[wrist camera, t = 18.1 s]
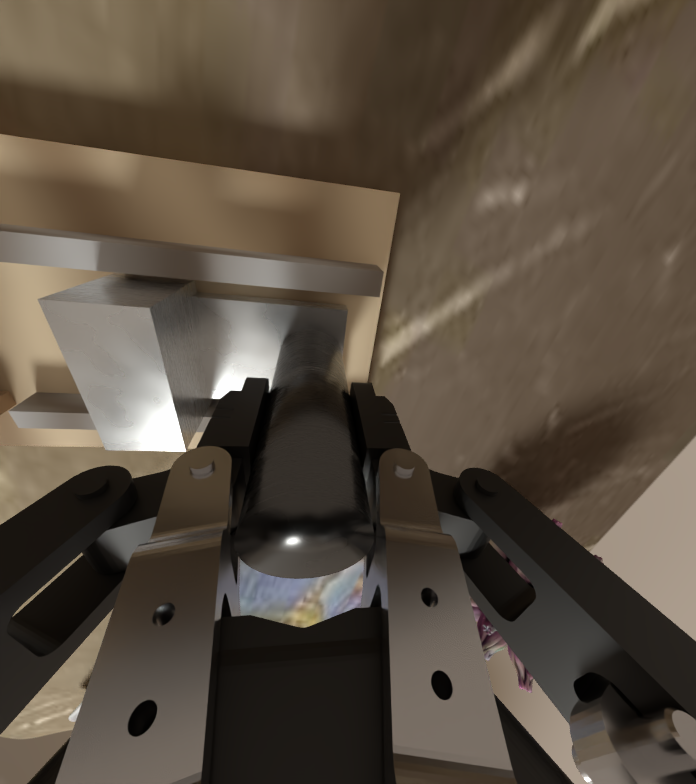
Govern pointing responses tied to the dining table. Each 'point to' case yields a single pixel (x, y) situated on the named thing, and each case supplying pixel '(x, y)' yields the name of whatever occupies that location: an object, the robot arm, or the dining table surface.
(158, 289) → the press block
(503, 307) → the dining table surface
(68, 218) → the wooden tray
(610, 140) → the dining table surface
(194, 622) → the robot arm
